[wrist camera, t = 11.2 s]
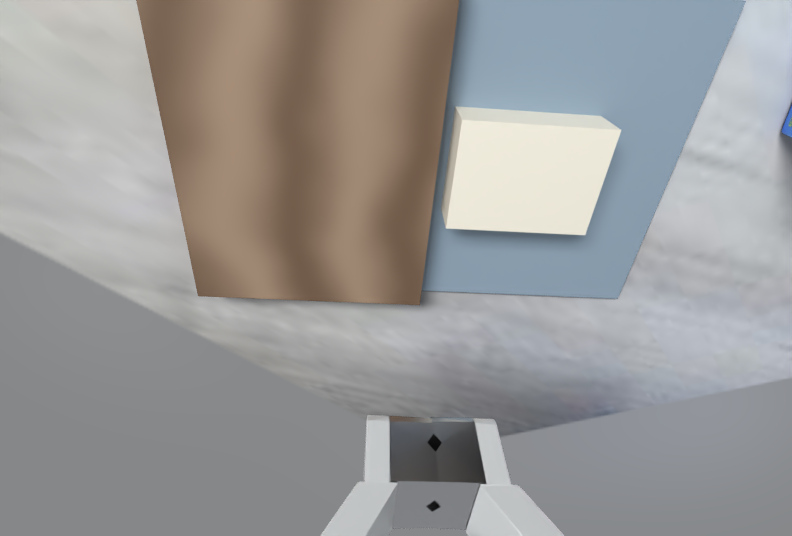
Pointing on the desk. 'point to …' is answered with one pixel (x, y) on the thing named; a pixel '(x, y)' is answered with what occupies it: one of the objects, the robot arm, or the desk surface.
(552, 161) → the tile
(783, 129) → the medicine box
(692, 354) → the desk surface
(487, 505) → the robot arm
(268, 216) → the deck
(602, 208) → the mat
